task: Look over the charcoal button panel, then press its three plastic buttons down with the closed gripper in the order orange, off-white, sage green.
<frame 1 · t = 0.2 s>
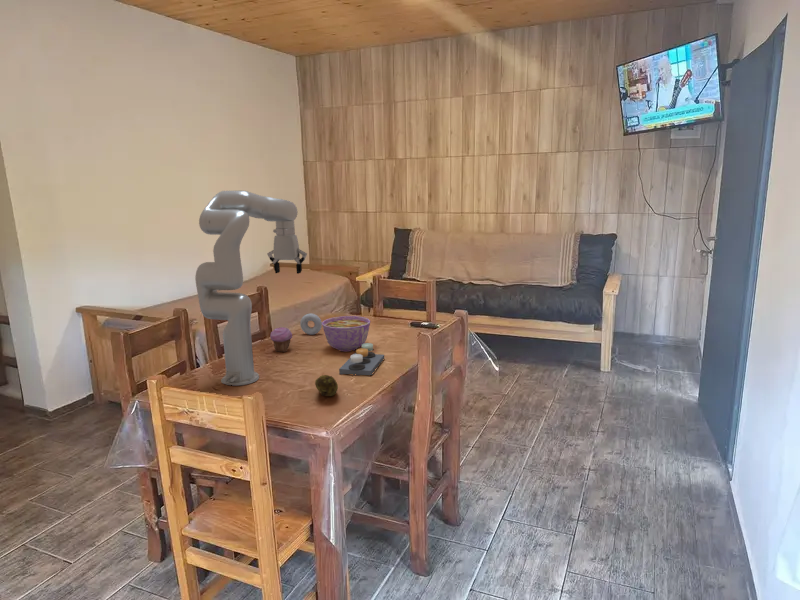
hand: (288, 272, 236), 31 cm above the table, tool pointing down, fingers open, 9 cm apart
button panel: (362, 366, 212), on the table
button orange: (362, 352, 211), point 5 cm above the table, slide at 0.0 cm
cupcake: (282, 351, 234), on the table
bowl of food: (347, 349, 235), on the table
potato: (327, 396, 184), on the table
button white: (356, 358, 204), point 5 cm above the table, slide at 0.0 cm
button sage: (367, 347, 217), point 5 cm above the table, slide at 0.0 cm
donut: (311, 335, 257), on the table
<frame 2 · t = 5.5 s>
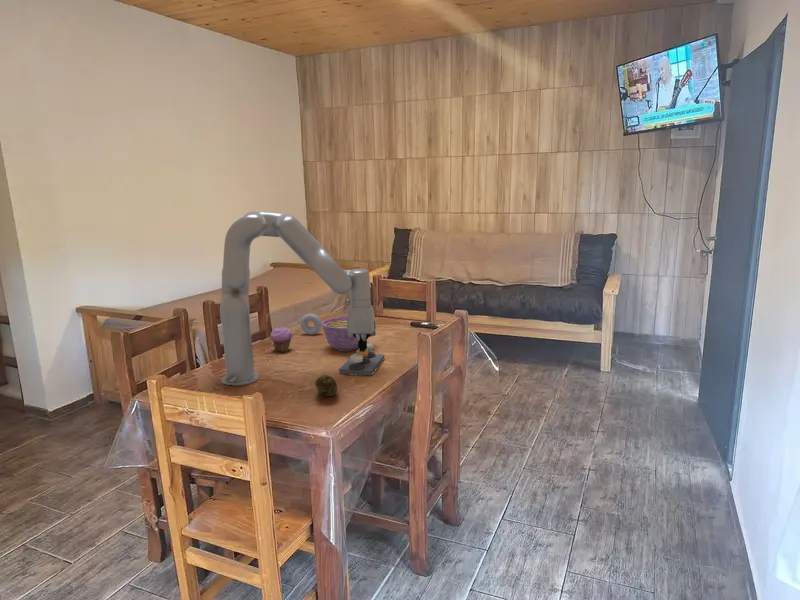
hand: (362, 350, 210), 6 cm above the table, tool pointing down, fingers closed
button orange: (362, 353, 211), point 5 cm above the table, slide at 0.2 cm, touching gripper
everything else where it was.
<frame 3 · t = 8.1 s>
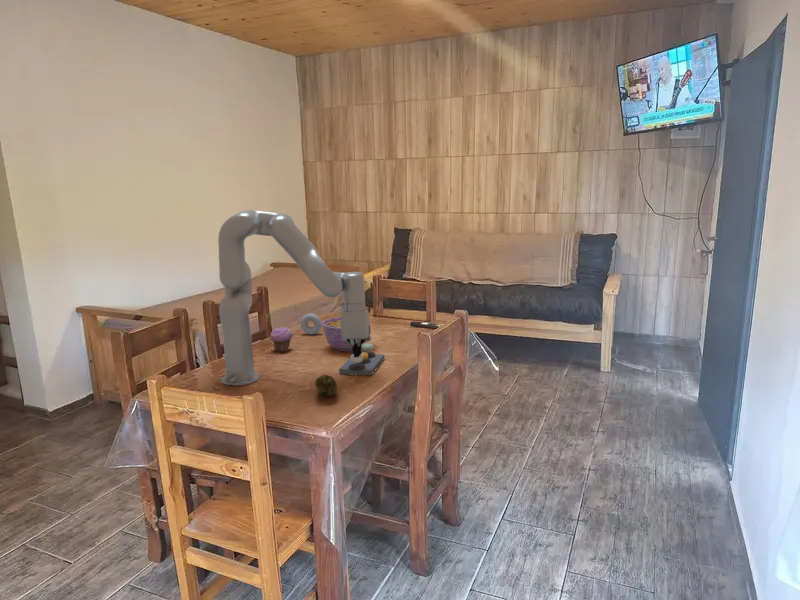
hand: (357, 355, 204), 6 cm above the table, tool pointing down, fingers closed
button orange: (362, 356, 211), point 4 cm above the table, slide at 1.5 cm
button white: (356, 358, 204), point 5 cm above the table, slide at 0.0 cm, touching gripper
everything else where it was.
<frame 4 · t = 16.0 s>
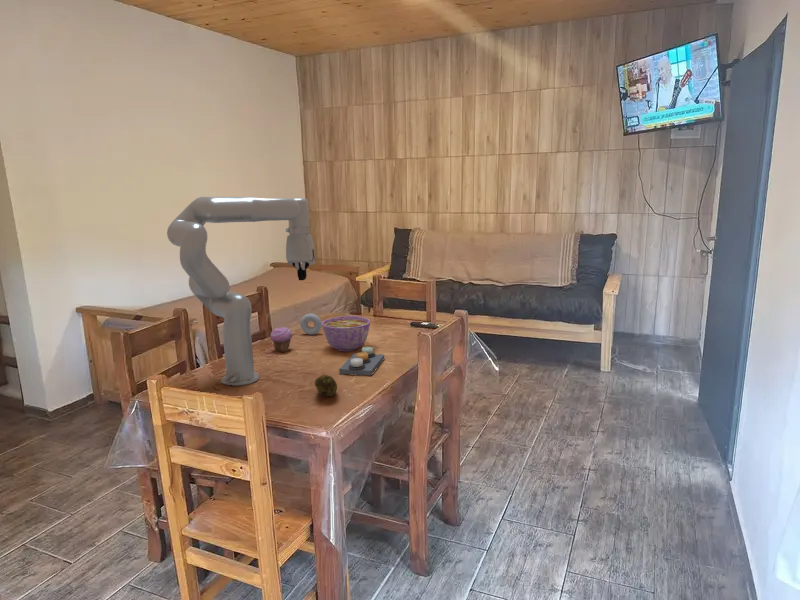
hand: (302, 279, 214), 32 cm above the table, tool pointing down, fingers closed
button white: (356, 362, 204), point 4 cm above the table, slide at 1.5 cm
button sage: (367, 350, 218), point 4 cm above the table, slide at 1.5 cm
everything else where it was.
at the end: button orange slide at 1.5 cm; button white slide at 1.5 cm; button sage slide at 1.5 cm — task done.
